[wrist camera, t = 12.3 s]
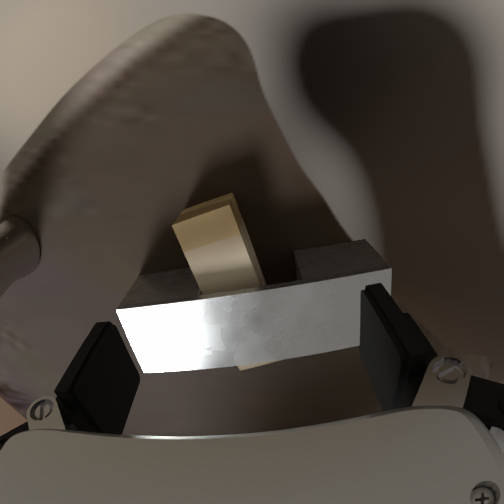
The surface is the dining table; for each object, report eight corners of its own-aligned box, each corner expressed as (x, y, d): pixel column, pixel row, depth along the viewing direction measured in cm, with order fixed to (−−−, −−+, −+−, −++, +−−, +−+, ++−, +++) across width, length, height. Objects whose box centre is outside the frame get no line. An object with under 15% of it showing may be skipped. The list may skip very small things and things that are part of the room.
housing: (366, 301, 27) (387, 338, 22) (159, 332, 28) (144, 372, 23) (365, 239, 25) (391, 268, 20) (139, 275, 26) (116, 309, 21)
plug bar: (283, 329, 28) (287, 358, 24) (241, 341, 29) (240, 370, 25) (232, 192, 24) (229, 204, 20) (183, 209, 24) (171, 225, 20)
